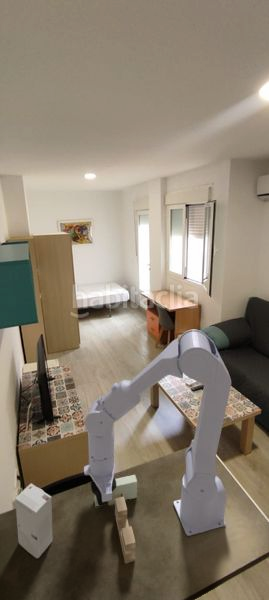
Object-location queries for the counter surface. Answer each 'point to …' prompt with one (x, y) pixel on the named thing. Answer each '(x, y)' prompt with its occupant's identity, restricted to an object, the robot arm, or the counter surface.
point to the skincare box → (34, 520)
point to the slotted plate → (125, 487)
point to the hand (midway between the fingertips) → (102, 497)
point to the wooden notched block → (125, 530)
